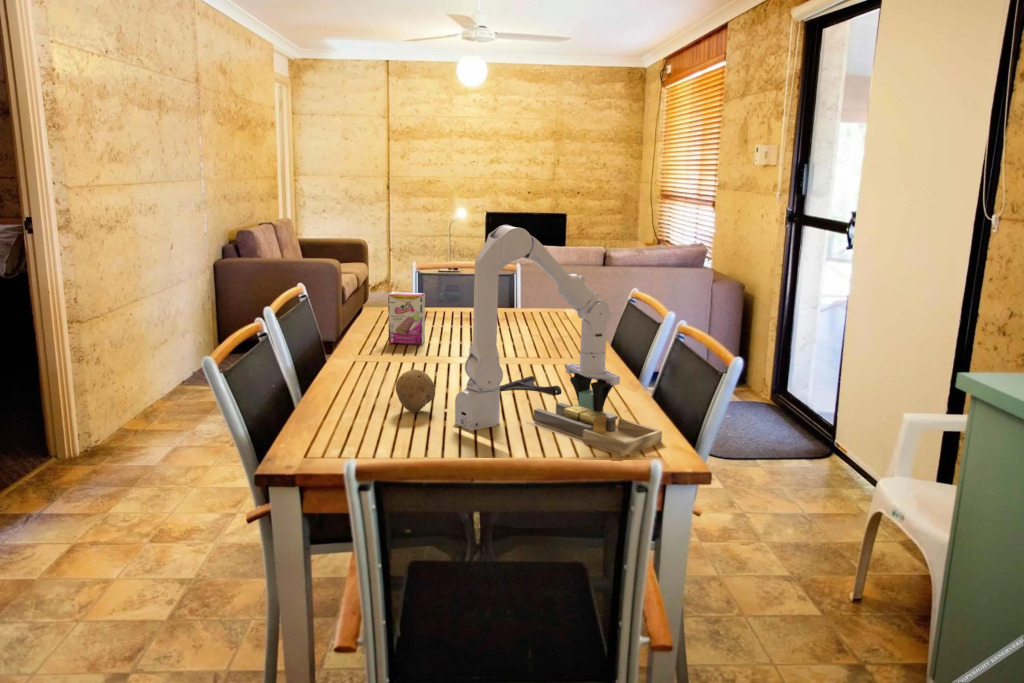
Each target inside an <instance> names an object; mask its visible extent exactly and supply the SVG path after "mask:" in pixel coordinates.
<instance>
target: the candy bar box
mask: <svg viewBox="0 0 1024 683" xmlns="http://www.w3.org/2000/svg"><path fill="white" fill-rule="evenodd" d="M387 296H388V299H387V300H388V302H387V303H388V306H387V307H388V311H387V312H388V314H387V315H388V318H387V319H388V344H390V345H391V344H393V345H413V346H415V345H416V346H423V344H425V341H426V334H425V333H426V329H425V328H426V294H425V293H424V292H422V293H421V292H405V291H403V292H401V291H391V292H390V293H388V295H387Z"/></svg>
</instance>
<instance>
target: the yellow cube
mask: <svg viewBox="0 0 1024 683" xmlns="http://www.w3.org/2000/svg"><path fill="white" fill-rule="evenodd" d="M606 416H607V414H604V413H601V412H598V411H594V410H590V411H587V412H583V413H580V421H579V422H582V423H585V424H588V425H591V426H594V432H595V433H598V434H602V433H605V432H606Z"/></svg>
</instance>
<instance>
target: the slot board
mask: <svg viewBox="0 0 1024 683" xmlns="http://www.w3.org/2000/svg"><path fill="white" fill-rule="evenodd" d="M568 407H572V405H570V404H566V403H563V402H558V403H556V404H555V413H554V412H552V411H547V410H545V409H541V408H537V409H534V410H533V420H531V421H527V422H526V424H529V425H531V426H535V427H538V428H540V429H543V430H546V431H549V432H551V433H554V434H557V435H560V436H563V437H566V438H569V439H572V440H574V441H577V442H580V443H583V444H586V445H589V446H591V447H594V448H597V449H600V450H603V451H606V452H609V453H611V454H614V455H617V456H620V457H624V456H627V455H630V454H633V453H636V452H640V451H642V450H644V449H648V448H650V447H653V446H656V445H659V444H661V443H663V441H662V439H663V431H662V430H659V429H656V428H652V427H650V426H647V425H643V424H641V423H636V422H633V421H630V420H627V419H624V418H619V419H618V420H616V418H615V419H612V418H608V417H606V432H605V433H602V434H598V433H595V432H594V426H591V425H588V424H585V423H582V422H579V421H576V420H573V419H570V418H566V417H564V409H565V408H568ZM616 421H618V423H617V424H616ZM616 425H617V426H616Z"/></svg>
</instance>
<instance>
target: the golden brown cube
mask: <svg viewBox="0 0 1024 683" xmlns="http://www.w3.org/2000/svg"><path fill="white" fill-rule="evenodd" d="M571 406H572V405H571ZM590 410H591V409H588V408H584V407H581V406H578V404H576V405H573V406H572V407H568V408H565V409H564V417H566V418H570V419H573V420H576V421H580V413H583V412H587V411H590Z"/></svg>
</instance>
